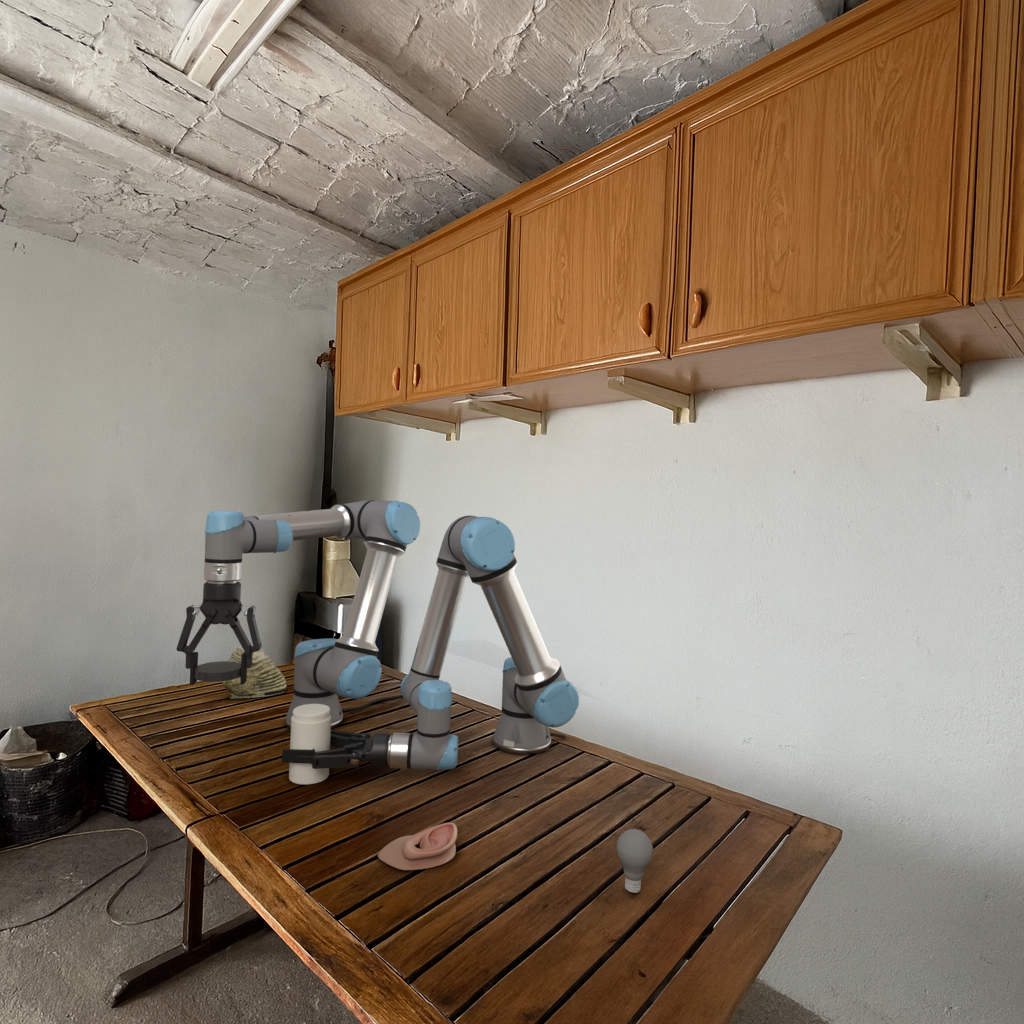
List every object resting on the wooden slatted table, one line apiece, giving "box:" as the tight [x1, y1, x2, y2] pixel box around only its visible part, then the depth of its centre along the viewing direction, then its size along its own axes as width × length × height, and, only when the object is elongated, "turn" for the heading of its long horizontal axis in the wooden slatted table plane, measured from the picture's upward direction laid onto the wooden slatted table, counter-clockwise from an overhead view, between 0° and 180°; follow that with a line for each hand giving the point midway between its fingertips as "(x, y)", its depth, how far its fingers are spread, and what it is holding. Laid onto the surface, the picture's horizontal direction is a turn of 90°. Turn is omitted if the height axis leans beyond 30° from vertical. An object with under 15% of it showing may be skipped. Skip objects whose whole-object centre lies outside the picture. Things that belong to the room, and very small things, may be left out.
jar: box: [288, 704, 332, 785], centre depth 143 cm, size 9×9×15 cm
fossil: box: [222, 646, 288, 699], centre depth 198 cm, size 9×18×15 cm, turn 132°
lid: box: [194, 660, 241, 683], centre depth 139 cm, size 10×10×2 cm
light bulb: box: [615, 828, 654, 894], centre depth 106 cm, size 6×6×10 cm
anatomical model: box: [377, 822, 458, 871], centre depth 114 cm, size 13×4×12 cm
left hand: (218, 682), depth 139 cm, fingers closed on lid, 10 cm apart
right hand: (289, 747), depth 143 cm, fingers closed on jar, 9 cm apart
